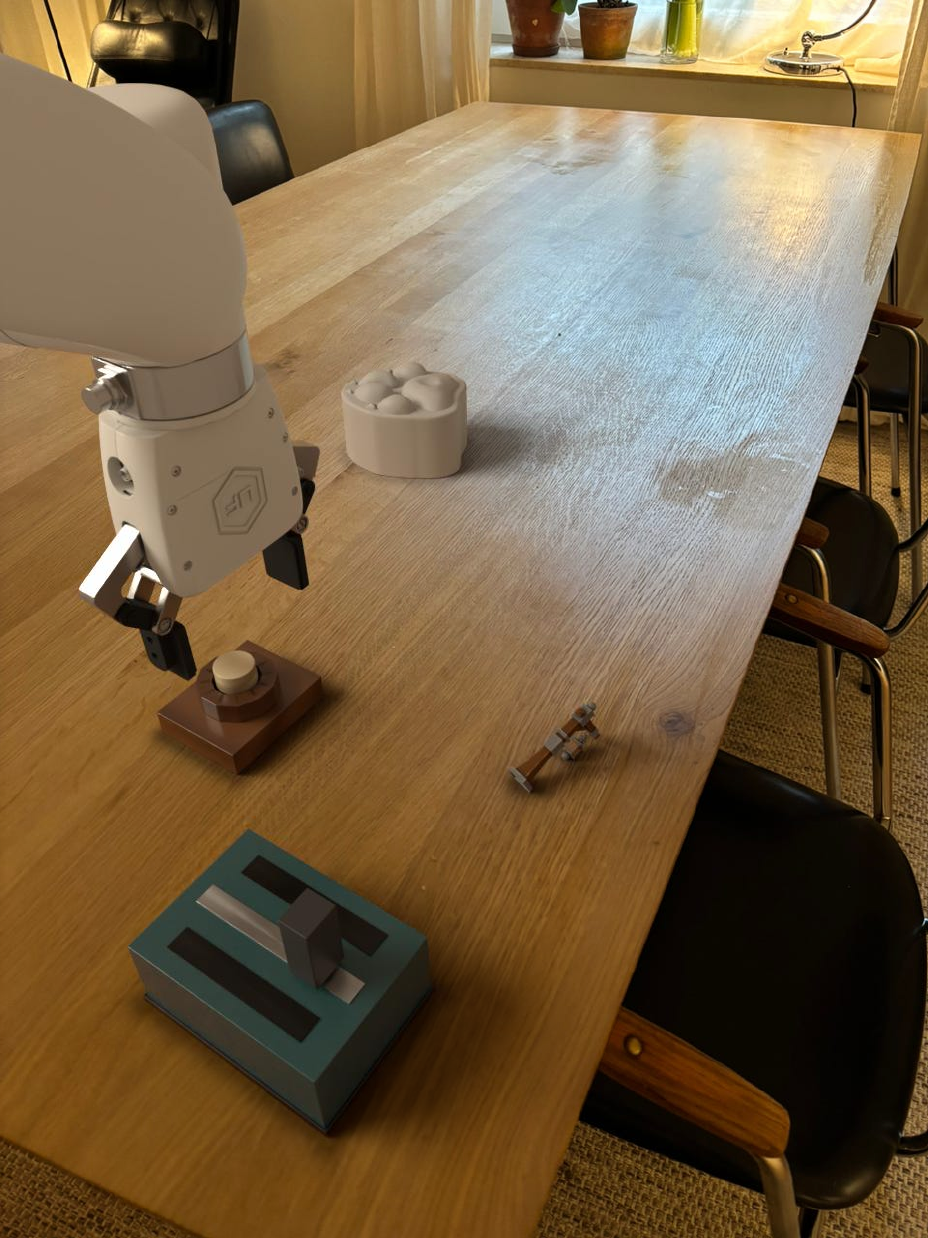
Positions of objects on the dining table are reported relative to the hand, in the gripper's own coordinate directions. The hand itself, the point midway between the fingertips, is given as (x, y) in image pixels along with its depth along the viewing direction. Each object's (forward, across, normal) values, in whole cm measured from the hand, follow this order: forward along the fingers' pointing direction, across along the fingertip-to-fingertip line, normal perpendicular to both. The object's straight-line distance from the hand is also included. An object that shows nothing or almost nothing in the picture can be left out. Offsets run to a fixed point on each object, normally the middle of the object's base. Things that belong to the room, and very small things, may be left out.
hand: (234, 622), depth 61 cm
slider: (+11, -11, -14) cm, 21 cm away
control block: (+17, +5, +8) cm, 20 cm away
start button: (+14, +5, +8) cm, 17 cm away
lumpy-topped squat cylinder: (+18, +44, +22) cm, 52 cm away
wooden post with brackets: (+18, +14, -15) cm, 27 cm away
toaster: (+17, -11, -11) cm, 23 cm away
